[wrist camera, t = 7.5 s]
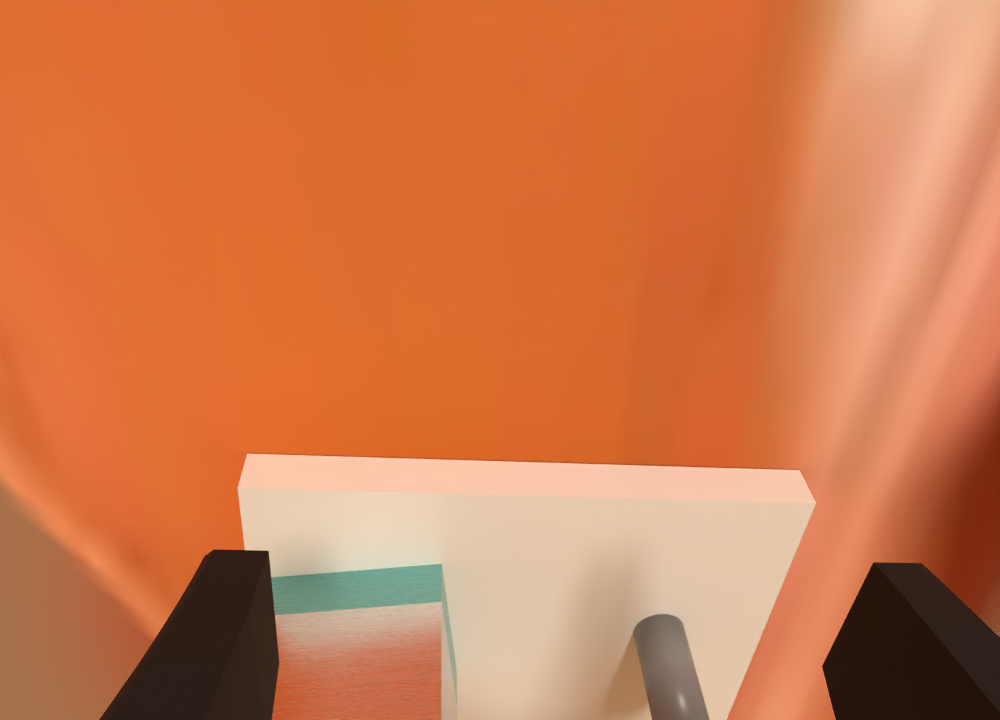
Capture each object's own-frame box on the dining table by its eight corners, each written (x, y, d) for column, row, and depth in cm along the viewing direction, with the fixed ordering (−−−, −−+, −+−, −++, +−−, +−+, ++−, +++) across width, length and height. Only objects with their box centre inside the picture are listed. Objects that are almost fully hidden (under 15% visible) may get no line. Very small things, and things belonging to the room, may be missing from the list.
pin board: (799, 470, 22) (864, 600, 19) (711, 698, 28) (748, 830, 24) (247, 453, 21) (208, 590, 17) (273, 696, 27) (247, 836, 23)
